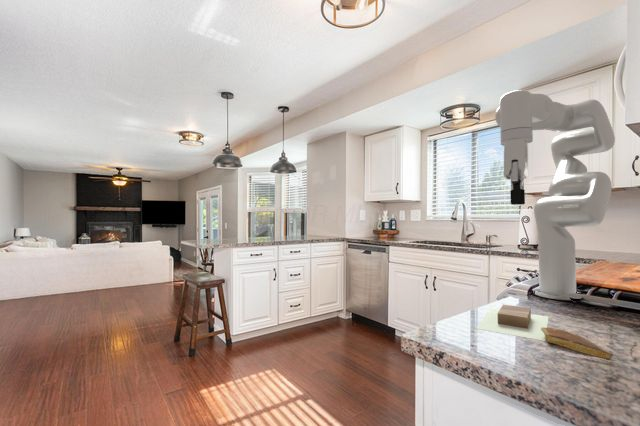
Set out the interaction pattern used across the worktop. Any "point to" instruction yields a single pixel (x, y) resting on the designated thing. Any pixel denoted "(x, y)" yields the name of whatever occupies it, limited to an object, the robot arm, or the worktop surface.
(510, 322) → the walnut slab
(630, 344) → the worktop surface
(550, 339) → the shard
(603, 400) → the worktop surface
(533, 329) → the sage mat
